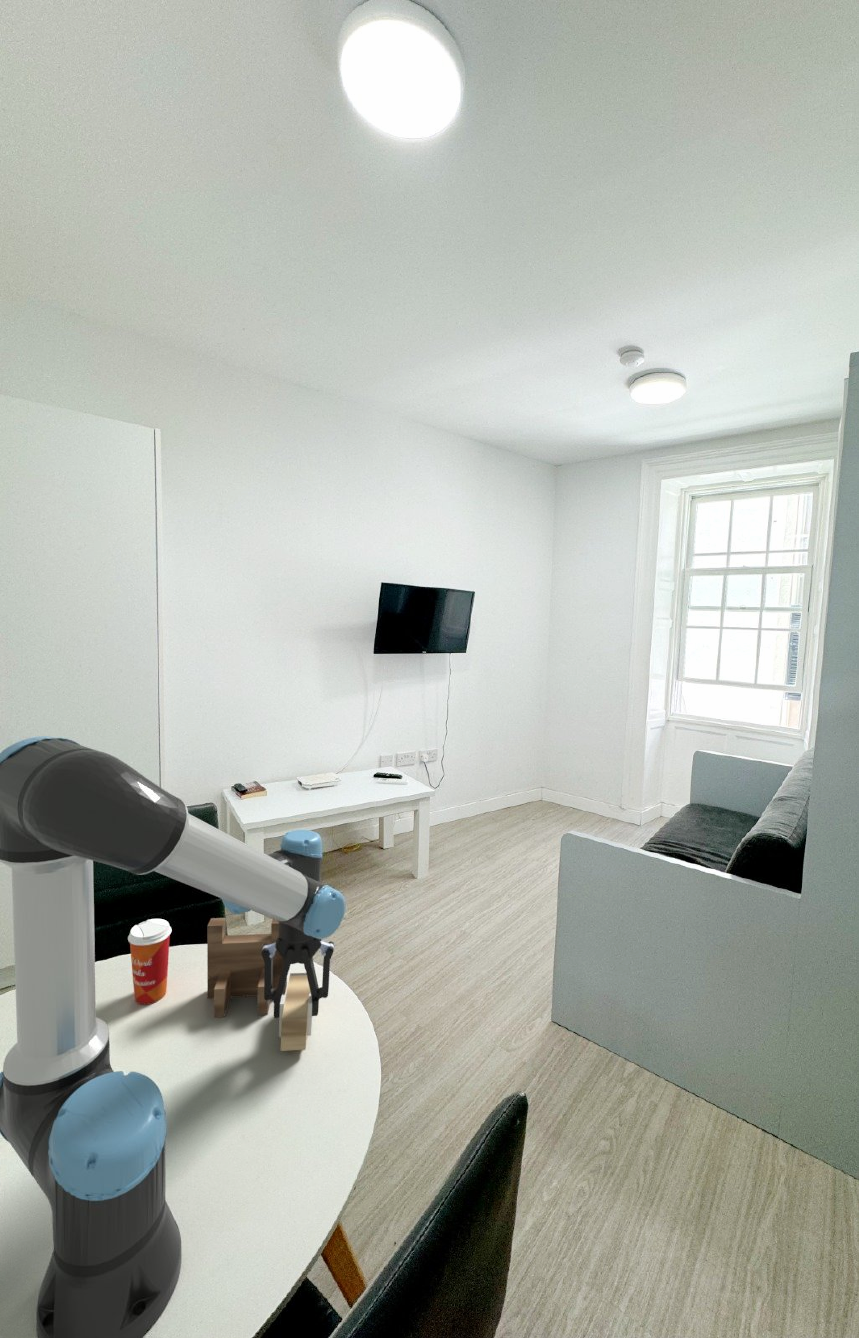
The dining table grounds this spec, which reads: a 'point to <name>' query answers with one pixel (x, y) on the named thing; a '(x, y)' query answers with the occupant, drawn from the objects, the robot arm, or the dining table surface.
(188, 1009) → the dining table surface
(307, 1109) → the dining table surface
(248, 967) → the brown notched piece
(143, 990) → the coffee cup
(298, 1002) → the tan wooden block
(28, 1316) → the dining table surface
